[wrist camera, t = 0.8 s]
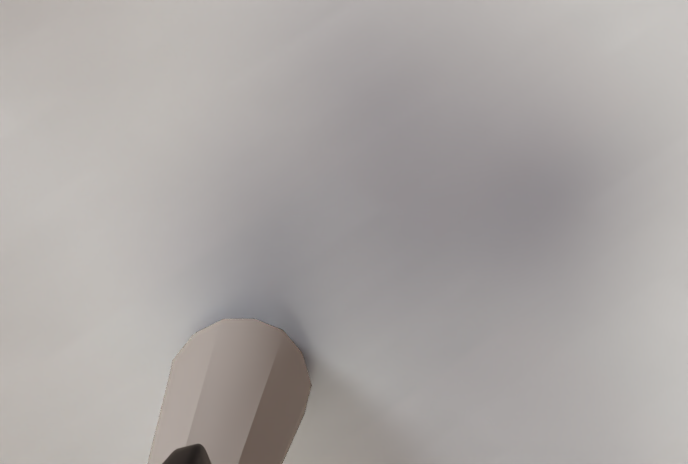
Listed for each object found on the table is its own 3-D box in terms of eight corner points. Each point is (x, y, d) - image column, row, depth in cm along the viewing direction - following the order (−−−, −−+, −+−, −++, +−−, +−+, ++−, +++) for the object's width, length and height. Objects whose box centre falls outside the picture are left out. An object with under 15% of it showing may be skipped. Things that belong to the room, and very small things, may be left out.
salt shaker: (275, 280, 23) (223, 460, 10) (332, 386, 24) (349, 669, 11) (159, 336, 23) (-35, 582, 10) (221, 438, 24) (112, 776, 11)
